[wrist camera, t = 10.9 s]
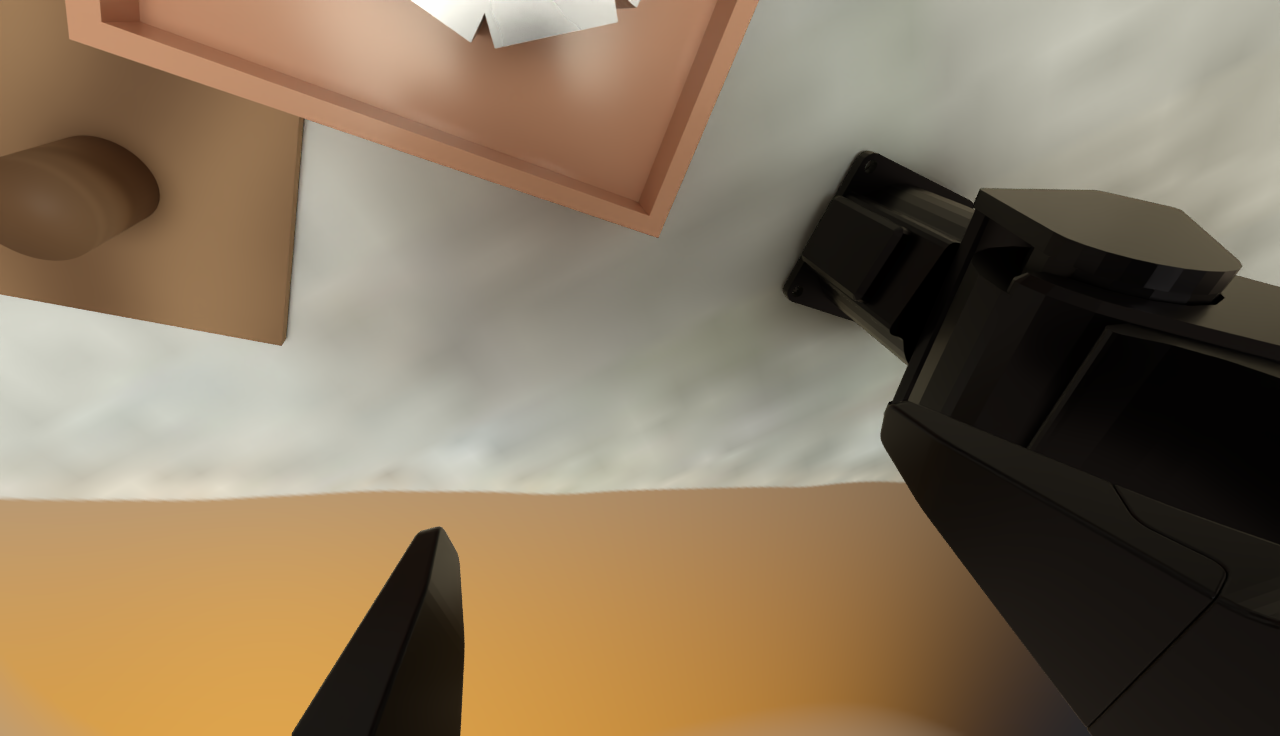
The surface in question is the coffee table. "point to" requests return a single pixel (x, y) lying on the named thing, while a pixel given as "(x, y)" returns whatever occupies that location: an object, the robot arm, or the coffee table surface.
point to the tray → (462, 85)
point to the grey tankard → (523, 17)
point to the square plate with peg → (140, 186)
